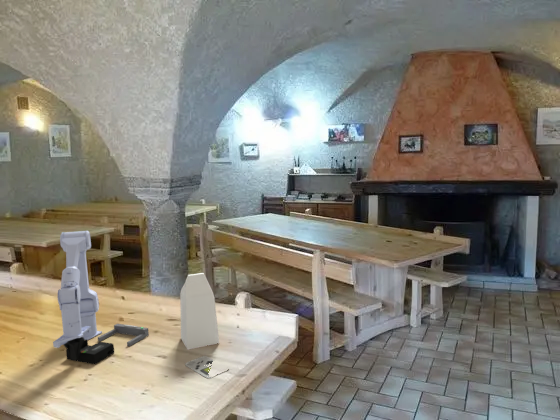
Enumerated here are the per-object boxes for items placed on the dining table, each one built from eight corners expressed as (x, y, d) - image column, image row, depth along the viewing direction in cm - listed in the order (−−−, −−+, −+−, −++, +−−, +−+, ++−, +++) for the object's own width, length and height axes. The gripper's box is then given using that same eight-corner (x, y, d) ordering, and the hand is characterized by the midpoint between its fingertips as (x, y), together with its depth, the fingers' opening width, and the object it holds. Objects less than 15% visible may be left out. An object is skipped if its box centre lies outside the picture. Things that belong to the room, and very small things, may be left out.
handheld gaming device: (204, 354, 164) (230, 368, 153) (205, 356, 164) (230, 370, 153) (183, 363, 158) (208, 378, 147) (183, 365, 158) (208, 380, 147)
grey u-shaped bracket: (97, 341, 180) (97, 332, 179) (117, 330, 190) (117, 322, 190) (129, 346, 174) (129, 337, 174) (148, 335, 184) (148, 327, 184)
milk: (187, 349, 170) (183, 280, 166) (180, 338, 180) (176, 272, 177) (219, 343, 174) (215, 275, 171) (211, 332, 185) (207, 268, 182)
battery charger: (114, 354, 169) (113, 343, 168) (95, 365, 160) (94, 354, 159) (86, 349, 173) (86, 339, 173) (66, 360, 165) (65, 349, 164)
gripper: (63, 330, 150) (66, 370, 152) (96, 315, 163) (99, 352, 165) (47, 328, 153) (50, 367, 154) (81, 313, 166) (84, 349, 168)
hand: (75, 359), depth 160 cm, fingers closed
